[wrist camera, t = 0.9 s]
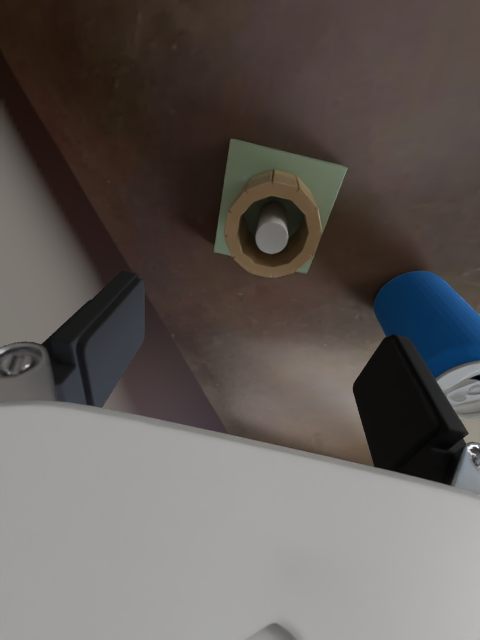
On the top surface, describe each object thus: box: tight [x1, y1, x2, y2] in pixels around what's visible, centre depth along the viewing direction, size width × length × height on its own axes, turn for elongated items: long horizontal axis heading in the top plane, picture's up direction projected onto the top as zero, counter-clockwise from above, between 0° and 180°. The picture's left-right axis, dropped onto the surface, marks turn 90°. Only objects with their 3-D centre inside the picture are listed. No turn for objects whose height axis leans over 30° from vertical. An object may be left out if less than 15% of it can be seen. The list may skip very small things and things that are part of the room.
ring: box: [224, 169, 322, 278], centre depth 21 cm, size 7×7×5 cm
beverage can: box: [374, 271, 480, 419], centre depth 23 cm, size 6×6×12 cm
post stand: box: [214, 139, 347, 274], centre depth 21 cm, size 9×9×7 cm
